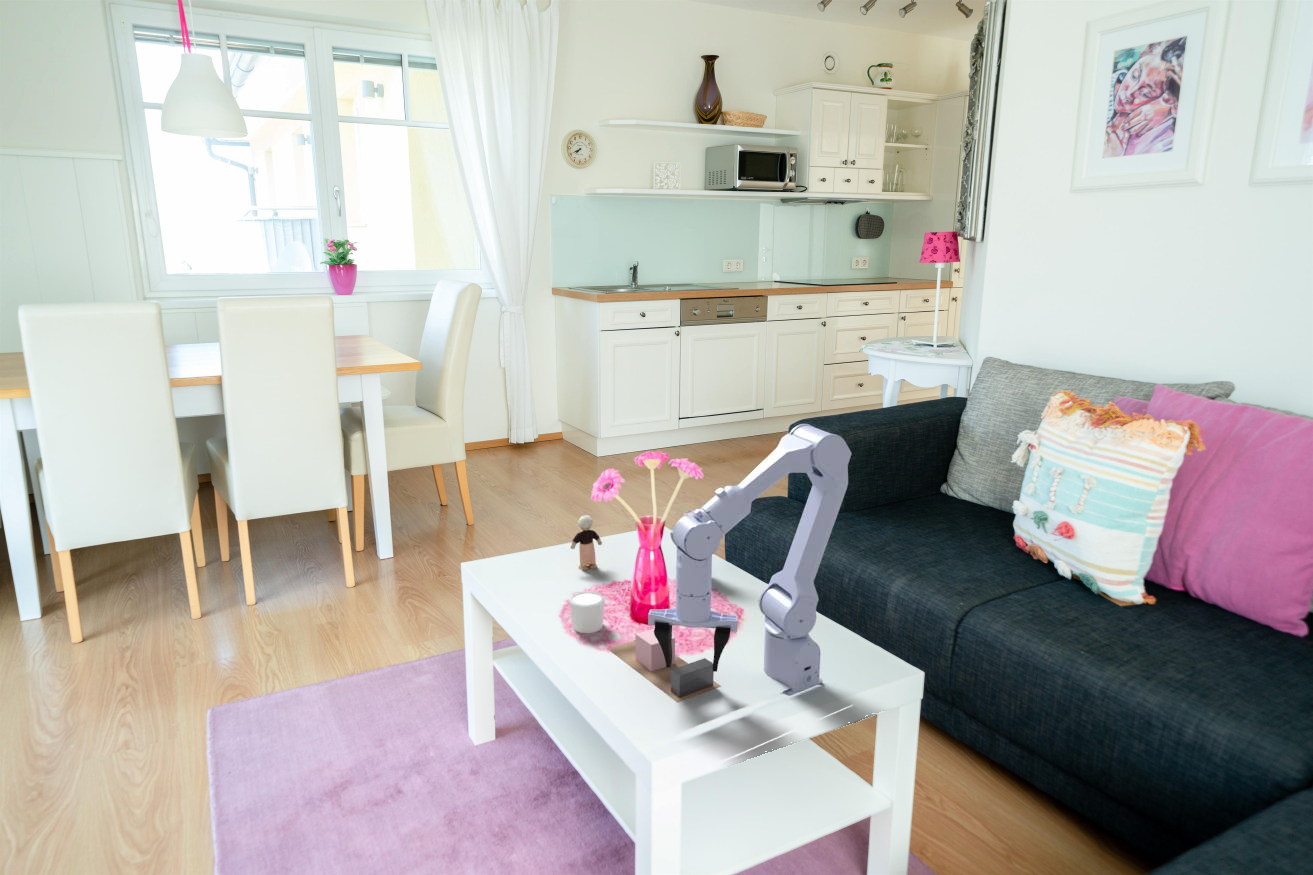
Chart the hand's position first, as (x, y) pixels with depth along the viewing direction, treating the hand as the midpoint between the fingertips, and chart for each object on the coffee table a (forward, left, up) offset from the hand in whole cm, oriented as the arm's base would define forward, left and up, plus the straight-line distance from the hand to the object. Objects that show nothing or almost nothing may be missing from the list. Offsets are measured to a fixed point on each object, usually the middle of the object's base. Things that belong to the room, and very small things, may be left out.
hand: (692, 666), depth 136 cm
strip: (+9, 0, -5) cm, 10 cm away
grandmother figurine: (+59, -13, -5) cm, 61 cm away
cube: (+11, 0, -4) cm, 12 cm away
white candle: (+30, +3, -6) cm, 31 cm away
